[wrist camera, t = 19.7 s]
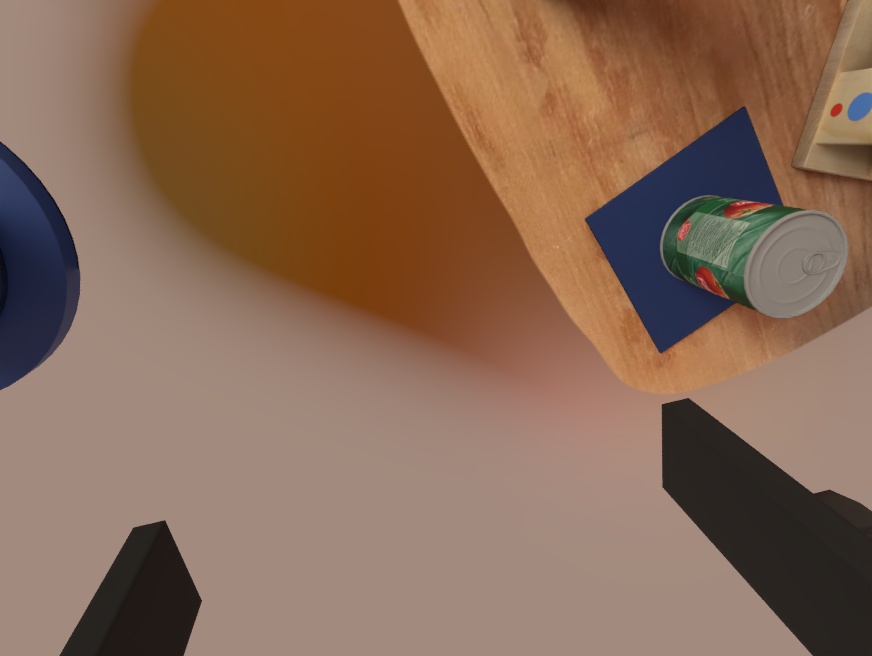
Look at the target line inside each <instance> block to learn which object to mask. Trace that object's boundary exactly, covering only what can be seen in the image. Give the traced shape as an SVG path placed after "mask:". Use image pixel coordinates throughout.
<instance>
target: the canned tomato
mask: <svg viewBox="0 0 872 656" xmlns="http://www.w3.org/2000/svg"><path fill="white" fill-rule="evenodd" d="M660 253H661V259H662V261H663V264H664V266H665V267H666V269H667V271H669V272H670V273H671V274H672V275H673V276H674V277H676V278H678V279H680V280H683V281H686V282H688V283H690V284H693V285H695V286H697V287H700V288H702V289H705V290H707V291H709V292H713V293H714V294H717V295H719V296H721V297H725V298H726V299H729V300H732V301H734V302H736V303H739V304H741V305H743V306H746V307H748V308H750V309H753V310H756V311H759V312H761V313H762V314H764V315H766V316H769V317H773V318H781V319H786V318H792V317H796V316H799V315H802V314H804V313H806V312H808V311H810V310H812V309H814V308H815V307H816V306H818V305H819V304H820V303H822V302H823V301H824V300H825V299H826V298H827V297H828V296H829V295H830V294H831V292H832V291H833V290H834V288H835V287H836V286H837V284H838V282H839V280H840V279H841V277H842V275H843V272H844V270H845V267H846V263H847V258H848V240H847V235H846V233H845V230H844V228H843V226H842V225H841V224H840V222H839V221H838V220H837V219H836V218H834V217H833V216H831V215H830V214H828V213H825V212H822V211H817V210H805V209H800V208H792V207H786V206H780V205H774V204H766V203H759V202H752V201H745V200H738V199H732V198H723V197H719V196H713V195H706V196H700V197H697V198H694V199H691V200H689V201H688V202H686V203H684V204H683V205H682V206H680V207H679V208H678V209H677V210H676V211H675V212H674V213H673V214H672V216H671V217H670V219H669V220H668V222H667V223H666V225H665V228H664V230H663V232H662V236H661V241H660Z"/></svg>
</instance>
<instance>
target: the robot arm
mask: <svg viewBox="0 0 872 656" xmlns="http://www.w3.org/2000/svg"><path fill="white" fill-rule="evenodd" d="M7 292H8V276H7V269H6V263H5V260H4V256H3V253H2V250H1V248H0V316H1V314H2V311H3V309H4V306H5V303H6V298H7ZM662 478H663V488H664V489H665V490H666V491H667V492H668V494H669V495H670V496H671V497H672V498H673V499H674V500H675V502H676V503H677V504H678V505H679V506H680V507H681V508H682V509H683V511H684V512H685V513H686V514H687V515H688V516H689V517H690V518H691V519H692V521H693V522H694V523H695V524H696V525H697V526H698V527H699V529H700V530H701V531H702V532H703V533H704V534H705V535H706V536H707V537H708V539H709V540H710V541H711V542H712V543H713V544H714V545H715V546H716V548H717V549H718V550H719V551H720V552H721V553H722V554H723V555H724V557H725V558H726V559H727V560H728V561H729V562H730V563H731V564H732V565H733V566H734V568H735V569H736V570H737V571H738V572H739V573H740V574H741V576H742V577H743V578H744V579H745V580H746V581H747V582H748V583H749V585H750V586H751V587H752V588H753V589H754V590H755V591H756V592H757V594H758V595H759V596H760V597H761V598H762V599H763V600H764V601H765V602H766V604H767V605H768V606H769V607H770V608H771V609H772V610H773V611H774V613H775V614H776V615H777V616H778V617H779V618H780V619H781V620H782V622H783V623H784V624H785V625H786V626H787V627H788V628H789V629H790V631H791V632H792V633H793V634H794V635H795V636H796V637H797V638H798V640H799V641H800V642H801V643H802V644H803V645H804V646H805V647H806V648H807V650H808V651H809V652H810V653H811V654H812V655H813V656H872V511H871V510H869V509H868V508H866V507H865V506H863V505H862V504H861V503H858V502H856V501H854V500H852V499H850V498H847V497H845V496H843V495H840V494H838V493H836V492H834V491H831V490H827V491H823V492H819V493H815V494H813V493H812V492H810V491H809V490H808V489H806V488H805V487H804V486H803V485H801V484H800V483H799V482H797V481H796V480H795V479H793V478H792V477H791V476H789V475H788V474H787V473H786V472H784V471H783V470H782V469H780V468H779V467H778V466H776V465H775V464H774V463H772V462H771V461H770V460H769V459H767V458H766V457H765V456H763V455H762V454H760V453H759V452H758V451H757V450H756V449H754V448H753V447H752V446H750V445H749V444H748V443H746V442H745V441H744V440H742V439H741V438H740V437H739V436H737V435H736V434H735V433H733V432H732V431H731V430H729V429H728V428H727V427H725V426H724V425H723V424H722V423H720V422H719V421H718V420H716V419H715V418H714V417H713V416H711V415H710V414H709V413H707V412H706V411H705V410H703V409H702V408H701V407H699V406H698V405H697V404H696V403H694V402H693V401H691V400H690V399H689V398H687V399H683V400H679V401H674V402H670V403H666V404H662ZM201 602H202V600H201V598H200V596H199V593H198V591H197V589H196V587H195V585H194V583H193V580H192V578H191V576H190V574H189V572H188V569H187V568H186V565H185V563H184V561H183V559H182V557H181V554H180V552H179V550H178V548H177V545H176V543H175V541H174V539H173V537H172V535H171V533H170V530H169V528H168V526H167V524H166V521H160V522H156V523H152V524H147V525H143V526H139V527H135V528H133V530H132V531H131V533H130V535H129V536H128V538H127V540H126V542H125V543H124V545H123V547H122V549H121V550H120V552H119V554H118V555H117V557H116V559H115V561H114V563H113V564H112V566H111V568H110V569H109V571H108V573H107V574H106V576H105V578H104V580H103V581H102V583H101V585H100V587H99V589H98V590H97V592H96V593H95V595H94V597H93V599H92V600H91V602H90V604H89V606H88V607H87V609H86V611H85V613H84V614H83V616H82V618H81V619H80V621H79V623H78V625H77V626H76V628H75V630H74V632H73V633H72V635H71V637H70V638H69V640H68V642H67V644H66V645H65V647H64V649H63V651H62V652H61V654H60V656H183V655H184V653H185V650H186V647H187V644H188V641H189V638H190V634H191V632H192V629H193V626H194V623H195V620H196V617H197V614H198V610H199V608H200V605H201Z"/></svg>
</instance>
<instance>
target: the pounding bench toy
mask: <svg viewBox="0 0 872 656" xmlns="http://www.w3.org/2000/svg"><path fill="white" fill-rule="evenodd" d="M792 167H795V168H799V169H804V170H810V171H815V172H821V173H827V174H832V175H838V176H844V177H850V178H856V179H862V180H867V181H872V0H848V2H847V5H846V8H845V10H844V13H843V16H842V19H841V22H840V25H839V27H838V30H837V33H836V37H835V39H834V42H833V45H832V47H831V50H830V53H829V56H828V59H827V62H826V65H825V68H824V71H823V73H822V76H821V79H820V82H819V85H818V88H817V91H816V94H815V97H814V100H813V103H812V106H811V109H810V111H809V114H808V117H807V120H806V123H805V126H804V129H803V132H802V135H801V138H800V141H799V144H798V147H797V150H796V153H795V156H794V159H793V162H792Z"/></svg>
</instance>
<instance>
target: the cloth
mask: <svg viewBox="0 0 872 656" xmlns="http://www.w3.org/2000/svg"><path fill="white" fill-rule="evenodd" d="M706 195H713V196H719V197H723V198H732V199H738V200H745V201H752V202H759V203H766V204H774V205H780V206H783V204H782V201H781V199H780V196H779V193H778V191H777V188H776V186H775V183H774V180H773V178H772V175H771V173H770V170H769V167H768V165H767V162H766V160H765V157H764V154H763V152H762V149H761V147H760V144H759V141H758V139H757V136H756V133H755V131H754V128H753V126H752V123H751V120H750V118H749V115H748V113H747V110H746V107H742V108H741V109H739V110H738V111H737V112H735V113H734V114H732V115H731V116H730V117H728V118H727V119H725V120H724V121H722V122H721V123H720V124H718V125H717V126H715V127H714V128H713V129H711V130H710V131H708V132H707V133H706V134H704V135H703V136H701V137H700V138H698V139H697V140H696V141H694V142H693V143H691V144H690V145H689V146H687V147H686V148H684V149H683V150H682V151H680V152H679V153H677V154H676V155H675V156H673V157H672V158H670V159H669V160H667V161H666V162H665V163H663V164H662V165H660V166H659V167H658V168H656V169H655V170H653V171H652V172H651V173H649V174H648V175H646V176H645V177H643V178H642V179H641V180H639V181H638V182H636V183H635V184H634V185H632V186H631V187H629V188H628V189H627V190H625V191H624V192H622V193H621V194H620V195H618V196H617V197H615V198H614V199H612V200H611V201H610V202H608V203H607V204H605V205H604V206H603V207H601V208H600V209H598V210H597V211H596V212H594V213H593V214H591V215H590V216H588V217H587V218H586V219H585V220H586V222H587V223H588V225H589V227H590V229H591V231H592V232H593V234H594V236H595V238H596V240H597V241H598V243H599V245H600V247H601V249H602V250H603V252H604V254H605V256H606V257H607V259H608V261H609V263H610V265H611V266H612V268H613V270H614V272H615V274H616V275H617V277H618V279H619V281H620V283H621V284H622V286H623V288H624V290H625V292H626V293H627V295H628V297H629V299H630V300H631V302H632V304H633V306H634V308H635V309H636V311H637V313H638V315H639V317H640V318H641V320H642V322H643V324H644V326H645V327H646V329H647V331H648V333H649V335H650V336H651V338H652V340H653V342H654V343H655V345H656V347H657V349H658V351H659V352H660V353H662V352H663V351H665V350H666V349H668V348H669V347H671V346H672V345H674V344H675V343H677V342H678V341H680V340H681V339H683V338H684V337H686V336H687V335H689V334H690V333H692V332H693V331H695V330H696V329H698V328H699V327H701V326H702V325H704V324H705V323H707V322H708V321H709V320H711V319H712V318H714V317H715V316H717V315H718V314H720V313H721V312H723V311H724V310H726V309H727V308H729V307H730V306H732V305H733V304H735V303H736V302H734V301H732V300H729V299H726V298H725V297H721V296H719V295H717V294H714V293H713V292H709V291H707V290H705V289H702V288H700V287H697V286H695V285H693V284H690V283H688V282H686V281H683V280H680V279H678V278H676V277H674V276H673V275H672V274H671V273H670V272H669V271H667V269H666V267H665V266H664V264H663V261H662V259H661V253H660V241H661V236H662V232H663V230H664V228H665V225H666V223H667V222H668V220H669V219H670V217H671V216H672V214H673V213H674V212H675V211H676V210H677V209H678V208H679V207H680V206H682V205H683V204H684V203H686V202H688V201H689V200H691V199H694V198H697V197H700V196H706Z"/></svg>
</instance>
